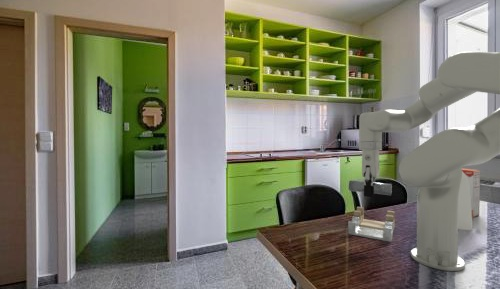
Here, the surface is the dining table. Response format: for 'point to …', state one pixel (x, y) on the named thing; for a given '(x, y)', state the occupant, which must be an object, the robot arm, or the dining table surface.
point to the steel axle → (378, 187)
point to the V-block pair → (371, 230)
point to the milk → (464, 205)
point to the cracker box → (474, 189)
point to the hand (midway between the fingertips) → (369, 194)
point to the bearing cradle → (370, 223)
